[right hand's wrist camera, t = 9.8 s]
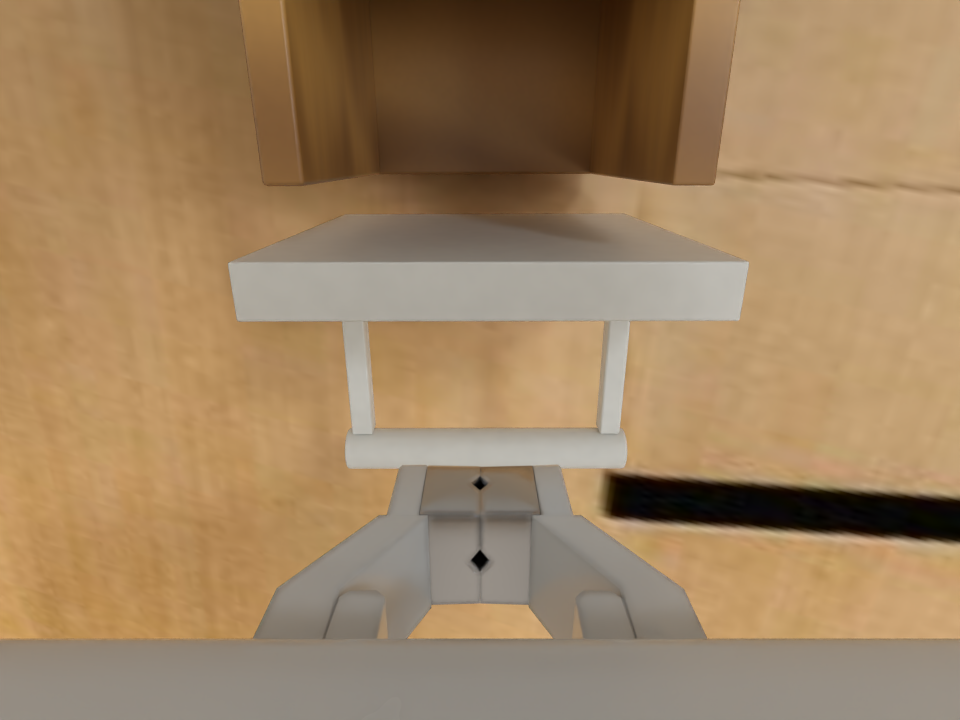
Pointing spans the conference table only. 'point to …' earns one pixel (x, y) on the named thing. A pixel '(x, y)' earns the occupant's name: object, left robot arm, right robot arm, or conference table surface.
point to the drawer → (488, 150)
